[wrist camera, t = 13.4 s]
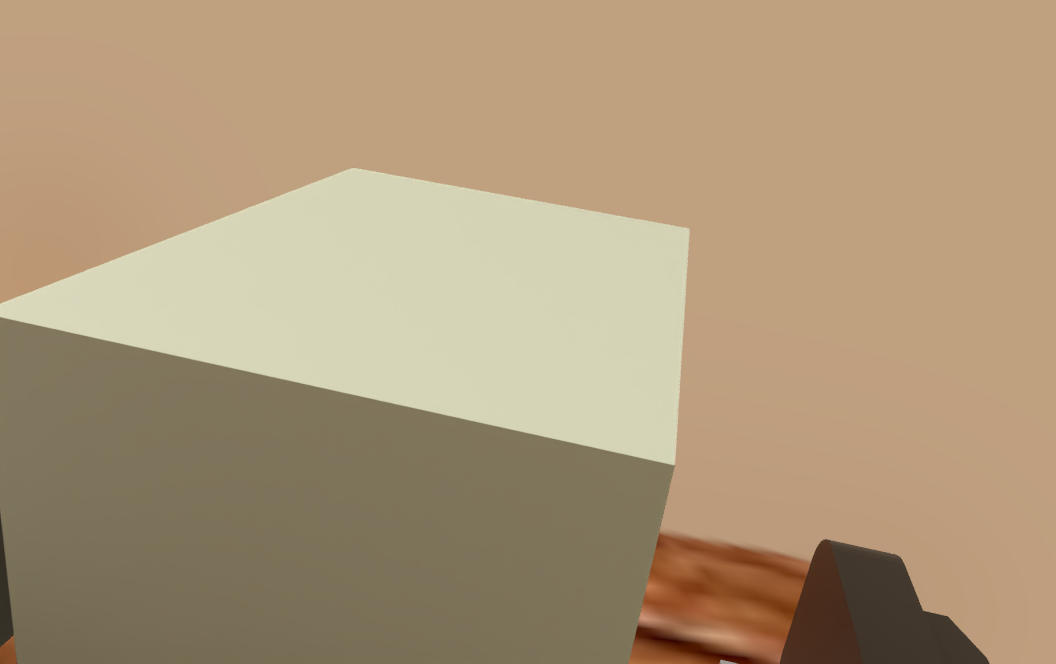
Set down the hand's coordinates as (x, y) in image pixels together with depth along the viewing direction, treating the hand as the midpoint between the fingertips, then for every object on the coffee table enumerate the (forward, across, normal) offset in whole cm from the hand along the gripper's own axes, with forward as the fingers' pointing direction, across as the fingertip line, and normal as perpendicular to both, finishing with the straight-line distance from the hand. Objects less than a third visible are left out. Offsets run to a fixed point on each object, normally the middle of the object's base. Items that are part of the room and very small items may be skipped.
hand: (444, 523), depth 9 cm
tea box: (-1, 0, +8) cm, 9 cm away
